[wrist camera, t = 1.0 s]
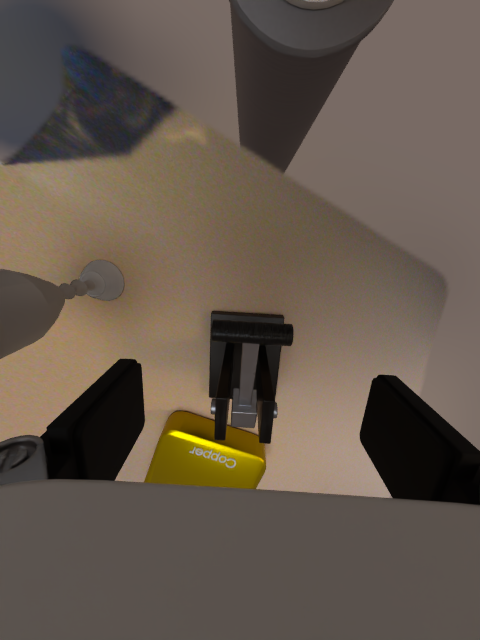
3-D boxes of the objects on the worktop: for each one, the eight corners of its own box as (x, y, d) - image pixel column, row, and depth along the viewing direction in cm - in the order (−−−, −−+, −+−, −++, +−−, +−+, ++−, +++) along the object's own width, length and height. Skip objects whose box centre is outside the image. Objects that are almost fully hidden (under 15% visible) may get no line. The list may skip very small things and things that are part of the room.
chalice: (134, 258, 30) (-9, 284, 13) (131, 312, 33) (3, 394, 15) (73, 246, 30) (-154, 256, 13) (73, 301, 32) (-122, 371, 15)
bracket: (212, 310, 32) (191, 354, 20) (283, 315, 32) (305, 361, 20) (210, 392, 36) (191, 471, 24) (273, 396, 36) (288, 478, 24)
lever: (214, 310, 17) (209, 336, 15) (291, 314, 17) (295, 341, 15) (217, 402, 25) (214, 426, 24) (269, 405, 25) (270, 429, 24)
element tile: (268, 437, 38) (271, 464, 33) (233, 505, 42) (232, 537, 38) (172, 405, 37) (162, 429, 32) (146, 478, 41) (134, 509, 37)
